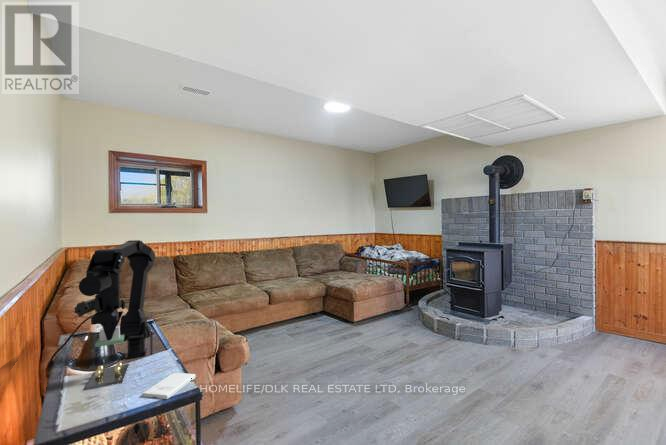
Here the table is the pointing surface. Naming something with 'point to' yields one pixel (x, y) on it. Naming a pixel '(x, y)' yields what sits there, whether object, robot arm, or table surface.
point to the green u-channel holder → (115, 339)
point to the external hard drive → (169, 385)
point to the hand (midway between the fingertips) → (110, 338)
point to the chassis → (107, 376)
